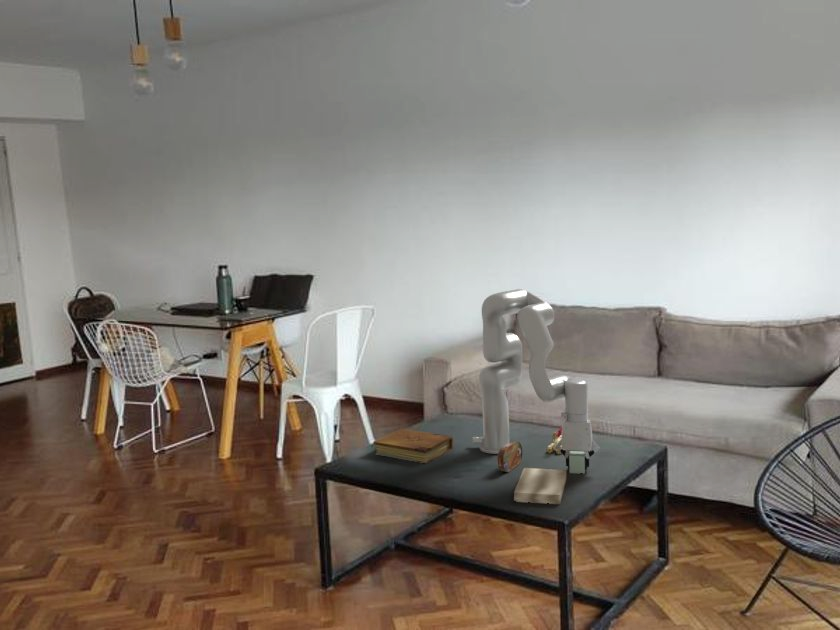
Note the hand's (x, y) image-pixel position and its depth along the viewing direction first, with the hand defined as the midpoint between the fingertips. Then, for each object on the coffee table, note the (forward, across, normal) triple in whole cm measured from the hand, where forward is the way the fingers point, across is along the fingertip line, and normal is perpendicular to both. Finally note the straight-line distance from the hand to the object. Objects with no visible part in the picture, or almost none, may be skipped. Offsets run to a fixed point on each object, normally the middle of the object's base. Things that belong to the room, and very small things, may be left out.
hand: (577, 467), depth 276 cm
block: (+1, 0, 0) cm, 1 cm away
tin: (+1, -23, 0) cm, 23 cm away
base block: (+1, -10, -19) cm, 21 cm away
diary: (+2, -61, +12) cm, 62 cm away
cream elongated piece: (+2, -6, +29) cm, 29 cm away
